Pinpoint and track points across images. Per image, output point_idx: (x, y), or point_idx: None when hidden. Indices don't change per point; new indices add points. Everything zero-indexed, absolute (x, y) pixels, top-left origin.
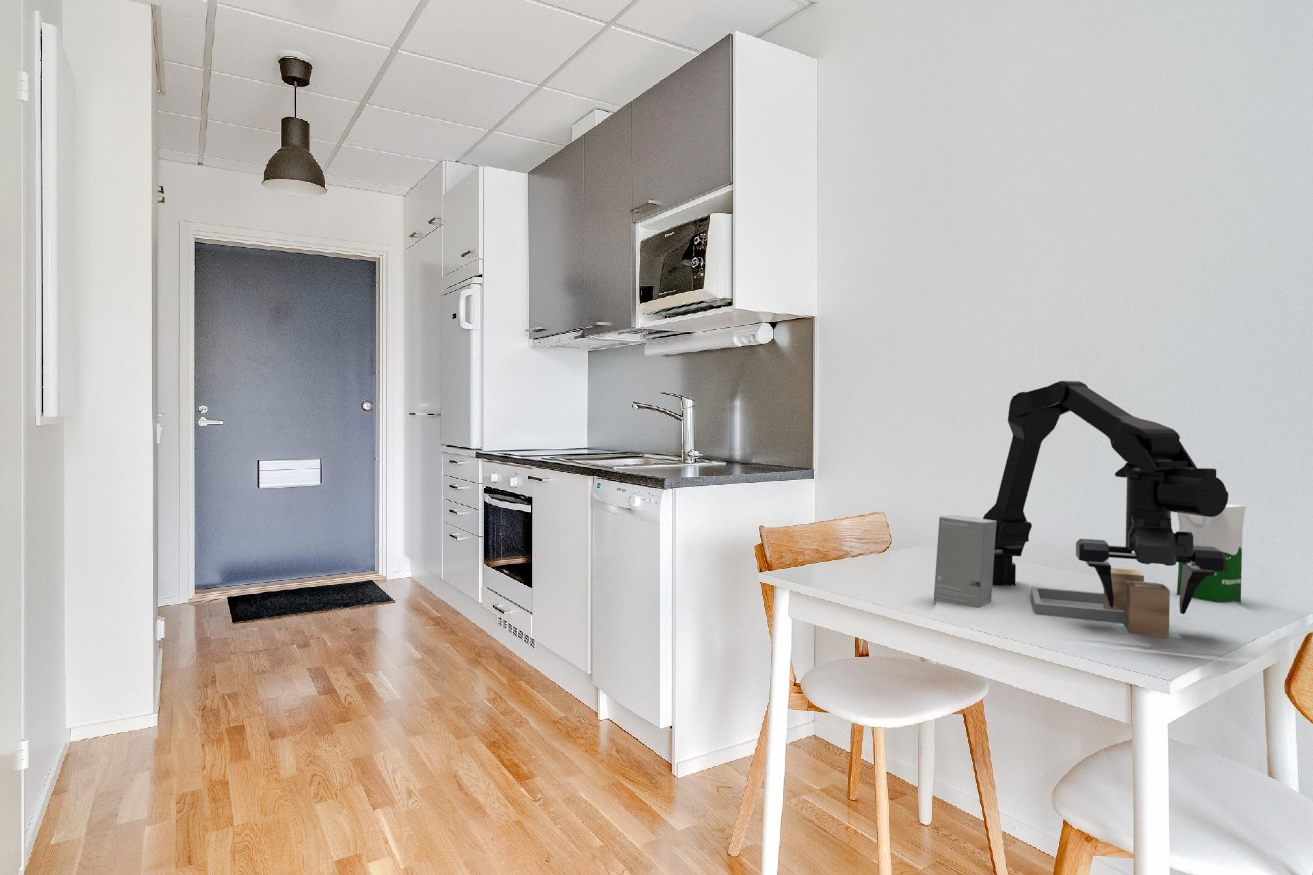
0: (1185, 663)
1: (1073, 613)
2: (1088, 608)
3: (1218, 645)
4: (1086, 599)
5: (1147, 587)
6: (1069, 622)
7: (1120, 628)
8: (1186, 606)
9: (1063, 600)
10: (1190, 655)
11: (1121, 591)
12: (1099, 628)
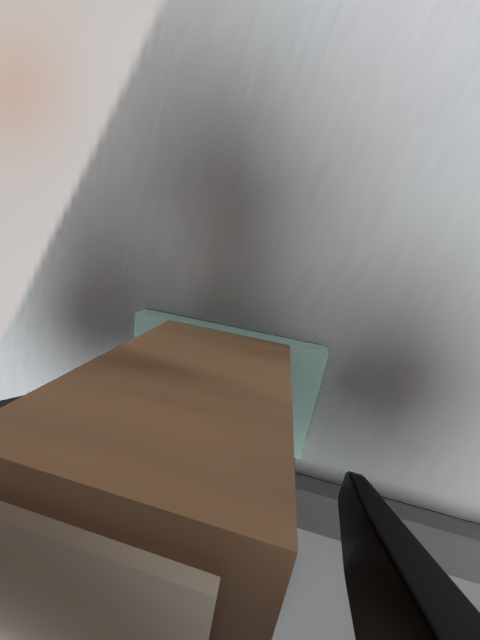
0: (206, 12)
1: (430, 542)
2: None
3: (53, 319)
4: None
5: (111, 540)
6: (427, 506)
7: (299, 402)
8: (4, 403)
9: None
10: (155, 160)
11: None
12: (345, 446)
